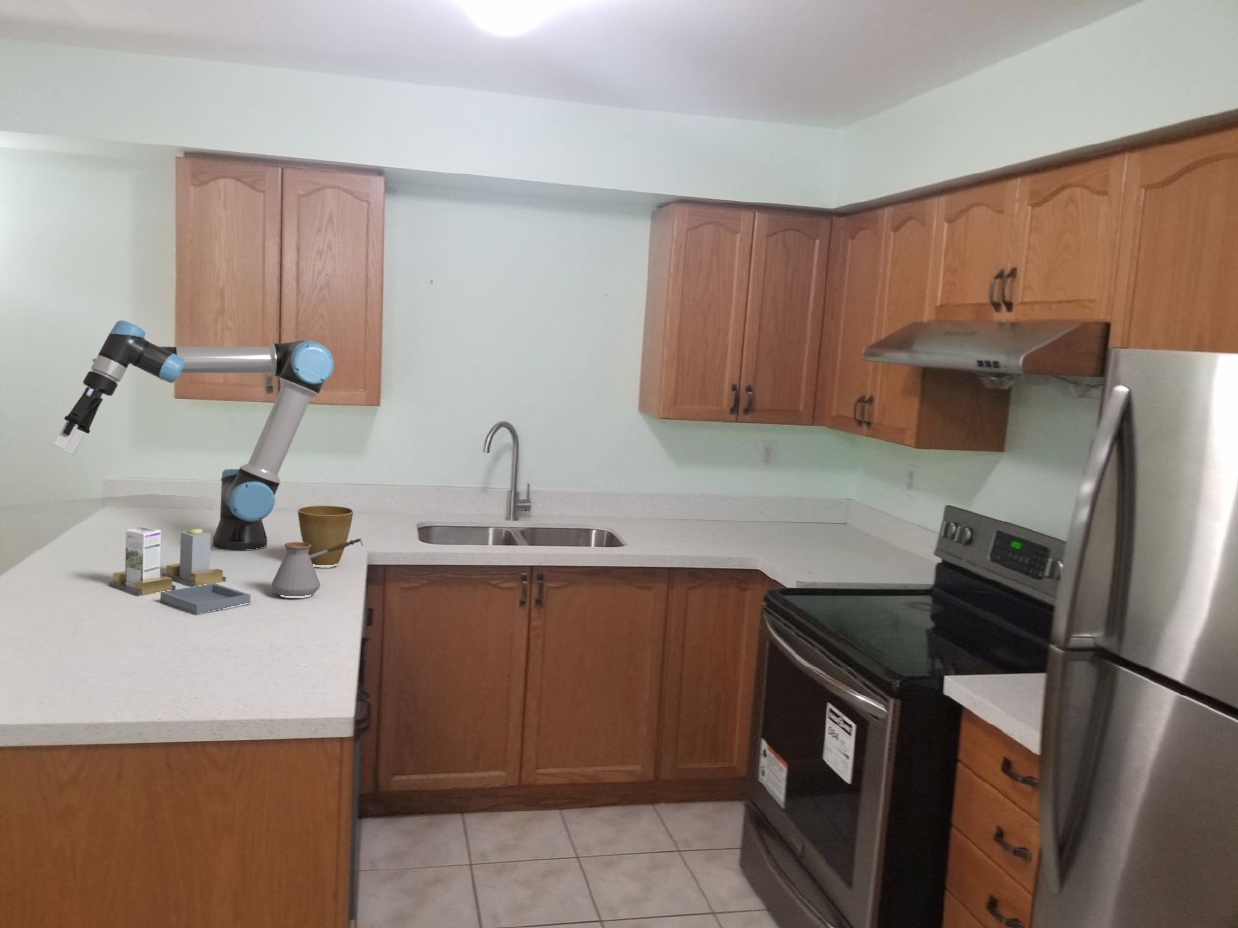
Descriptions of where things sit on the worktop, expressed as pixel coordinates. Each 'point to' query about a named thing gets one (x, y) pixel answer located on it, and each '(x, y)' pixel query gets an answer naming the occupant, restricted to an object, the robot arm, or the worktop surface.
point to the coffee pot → (300, 569)
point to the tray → (204, 598)
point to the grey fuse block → (194, 552)
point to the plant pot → (325, 531)
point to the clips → (194, 576)
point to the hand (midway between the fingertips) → (63, 449)
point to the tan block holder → (142, 584)
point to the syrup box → (142, 555)
